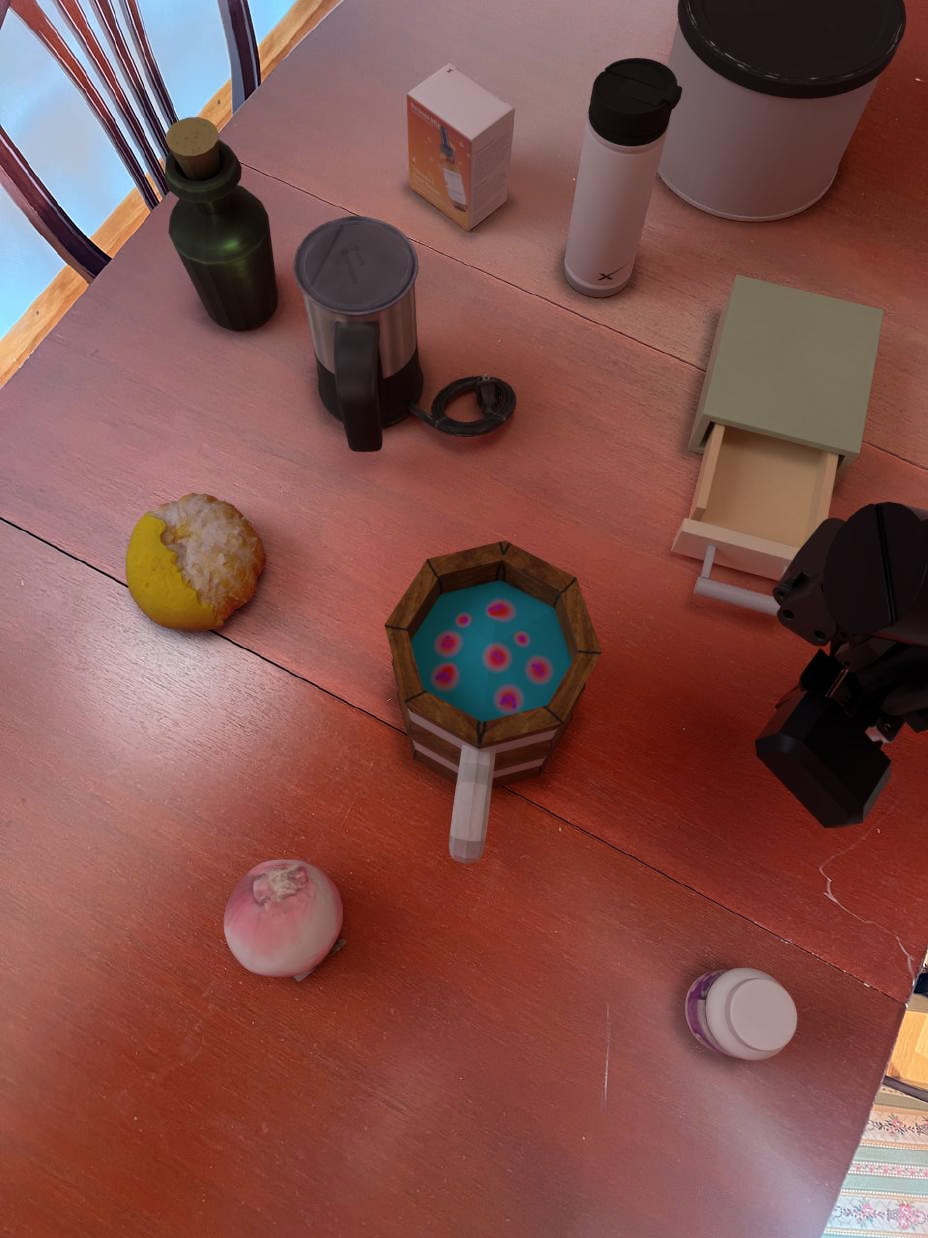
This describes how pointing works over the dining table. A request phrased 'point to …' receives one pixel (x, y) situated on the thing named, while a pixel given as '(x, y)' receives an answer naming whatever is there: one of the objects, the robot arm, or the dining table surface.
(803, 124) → the container
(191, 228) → the potion bottle
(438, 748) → the mug
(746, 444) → the drawer
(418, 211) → the dining table surface
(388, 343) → the milk frother
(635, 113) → the travel mug
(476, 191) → the small box
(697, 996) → the pill bottle
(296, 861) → the turnip
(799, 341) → the cabinet
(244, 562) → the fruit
